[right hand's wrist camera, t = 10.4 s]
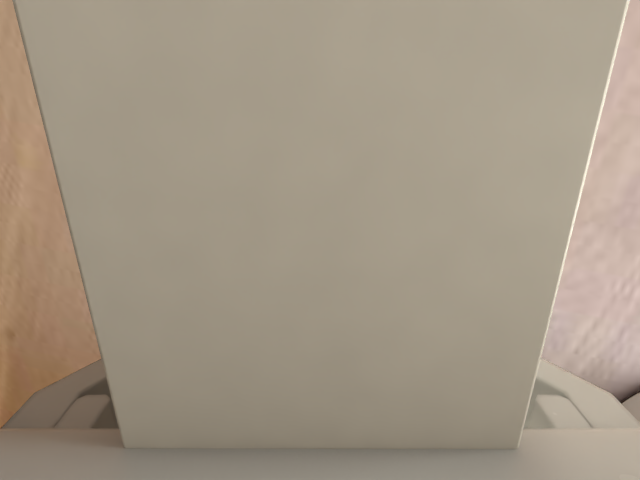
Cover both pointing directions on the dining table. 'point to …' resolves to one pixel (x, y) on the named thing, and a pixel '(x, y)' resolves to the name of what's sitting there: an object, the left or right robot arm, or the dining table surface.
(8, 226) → the dining table surface
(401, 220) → the bar
